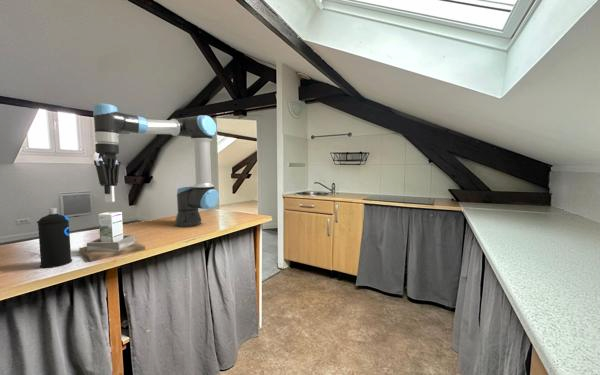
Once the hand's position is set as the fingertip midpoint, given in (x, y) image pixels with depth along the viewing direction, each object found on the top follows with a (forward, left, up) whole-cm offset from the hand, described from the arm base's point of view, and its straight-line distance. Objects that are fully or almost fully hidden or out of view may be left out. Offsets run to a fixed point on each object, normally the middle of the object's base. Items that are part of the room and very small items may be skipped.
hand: (109, 201), depth 101 cm
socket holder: (0, 0, -21) cm, 21 cm away
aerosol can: (+17, +2, -21) cm, 27 cm away
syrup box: (0, 0, -19) cm, 19 cm away
